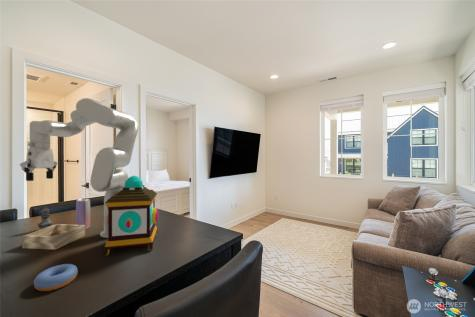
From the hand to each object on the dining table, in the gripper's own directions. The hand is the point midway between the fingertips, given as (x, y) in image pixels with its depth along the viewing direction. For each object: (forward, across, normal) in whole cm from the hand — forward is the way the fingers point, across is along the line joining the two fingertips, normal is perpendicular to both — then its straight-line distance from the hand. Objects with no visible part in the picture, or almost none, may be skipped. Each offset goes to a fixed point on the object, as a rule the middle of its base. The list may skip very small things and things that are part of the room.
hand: (40, 179), depth 103 cm
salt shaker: (+26, 0, -3) cm, 26 cm away
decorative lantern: (+26, -12, -57) cm, 63 cm away
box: (+26, -12, -21) cm, 35 cm away
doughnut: (+26, -39, -48) cm, 67 cm away
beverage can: (+26, +5, -19) cm, 32 cm away
